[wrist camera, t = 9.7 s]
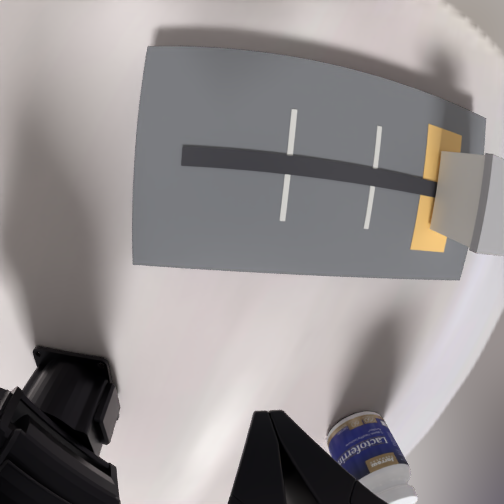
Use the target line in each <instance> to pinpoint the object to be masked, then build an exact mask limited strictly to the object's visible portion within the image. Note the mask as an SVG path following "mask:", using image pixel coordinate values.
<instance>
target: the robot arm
mask: <svg viewBox="0 0 504 504" xmlns="http://www.w3.org/2000/svg"><path fill="white" fill-rule="evenodd" d="M38 352H39V353H38ZM33 355H34V358H35V362H36V365H37V368H36V370H35V371H34V373H33V374H32V376H31V377H30V379H29V380H28V382H27V383H26V385H25V387H24V388H23V390H21V389H20V388H19V387H18V386H17V387H16V388H14V389H13V390H12V391H11V392H10V391H9V390H5V389H3V388H0V504H121V502H120V499H119V491H118V481H117V470H116V467H115V466H114V465H112V464H111V463H108V462H106V461H105V460H103V459H102V458H100V457H99V455H100V451H101V448H102V444H105V445H108V444H109V443H110V441H111V437H112V434H113V430H114V427H115V423H116V421H117V420H118V418H119V410H120V404H119V399H118V395H117V390H116V386H115V384H114V383H112V379H111V374H110V368H109V363H108V361H107V360H106V359H105V358H103V357H97V356H91V355H84V354H78V353H72V352H67V351H61V350H56V349H51V348H46V347H41V346H36V347H35V348H34V350H33ZM100 363H102V364H103V365H101V364H100ZM355 480H356V478H354V477H353V476H352V475H351V474H350V473H349V472H348V471H346V470H345V469H344V468H343V467H342V466H341V465H340V464H339V463H338V462H336V461H335V460H334V459H333V458H332V457H331V456H330V455H329V454H328V453H327V452H325V451H324V450H323V449H322V448H321V447H320V446H319V445H318V444H317V443H316V442H315V441H314V440H313V439H312V438H311V437H309V436H308V435H307V434H306V433H305V432H304V431H303V430H302V429H301V428H300V427H299V426H298V425H297V424H296V423H295V422H294V421H293V420H292V419H291V418H290V417H289V416H288V415H287V414H286V413H285V412H284V411H282V410H270V411H254V413H253V416H252V420H251V424H250V427H249V431H248V435H247V438H246V442H245V446H244V449H243V453H242V456H241V460H240V464H239V467H238V471H237V474H236V477H235V481H234V484H233V488H232V491H231V495H230V497H229V501H228V504H388V503H387V502H385V501H384V500H382V499H381V498H379V497H378V496H377V495H375V494H374V493H373V492H371V491H370V490H369V489H368V488H366V487H365V486H364V485H363V484H362V483H360V482H359V481H358V480H356V481H355Z"/></svg>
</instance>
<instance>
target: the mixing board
mask: <svg viewBox="0 0 504 504" xmlns="http://www.w3.org/2000/svg"><path fill="white" fill-rule="evenodd" d="M485 129H486V118H484V117H482V116H480V115H478V114H476V113H474V112H472V111H469V110H467V109H465V108H463V107H461V106H458V105H456V104H454V103H451V102H449V101H447V100H444V99H442V98H439V97H437V96H434V95H432V94H429V93H426V92H424V91H421V90H418V89H415V88H413V87H410V86H407V85H404V84H401V83H398V82H395V81H392V80H389V79H385V78H382V77H379V76H375V75H372V74H368V73H365V72H361V71H357V70H353V69H350V68H346V67H341V66H337V65H333V64H328V63H324V62H319V61H314V60H309V59H304V58H298V57H293V56H287V55H280V54H273V53H266V52H258V51H250V50H240V49H229V48H215V47H194V46H148V47H147V53H146V60H145V66H144V73H143V80H142V87H141V95H140V104H139V113H138V123H137V134H136V146H135V161H134V180H133V213H132V251H133V265H146V266H160V267H175V268H190V269H206V270H222V271H239V272H257V273H276V274H296V275H317V276H340V277H365V278H392V279H424V280H460V277H461V274H462V270H463V266H464V262H465V259H466V255H467V251H468V247H467V246H465V245H463V244H461V243H459V242H457V241H455V240H453V239H450V238H448V237H446V236H444V235H442V234H440V233H437V232H435V231H433V230H431V229H430V224H431V219H432V214H433V208H434V202H435V196H436V190H437V183H438V176H439V168H440V160H441V151H447V152H458V153H468V154H477V155H484V144H485Z"/></svg>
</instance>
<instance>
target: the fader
mask: <svg viewBox="0 0 504 504" xmlns="http://www.w3.org/2000/svg"><path fill="white" fill-rule="evenodd" d="M430 229H431V230H433V231H435V232H437V233H440V234H442V235H444V236H446V237H448V238H450V239H453V240H455V241H457V242H459V243H461V244H463V245H465V246H467V247H469V248H470V249H469V250H470V251H472V252H474V253H477V254H487V255H496V256H504V159H503V158H501V157H499V156H496V155H494V154H488V153H485V155H477V154H468V153H458V152H447V151H441V160H440V168H439V176H438V183H437V190H436V196H435V202H434V208H433V214H432V219H431V224H430Z"/></svg>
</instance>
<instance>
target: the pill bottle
mask: <svg viewBox="0 0 504 504" xmlns="http://www.w3.org/2000/svg"><path fill="white" fill-rule="evenodd" d="M327 445H328V448H329V451H330V454H331V456H332V458H333V459H334V460H335V461H336V462H338V463H339V464H340V465H341V466H342V467H343V468H344V469H345V470H346V471H348V472H349V473H350V474H351V475H352V476H353V477H354V478H356V480H358V481H359V482H360V483H362V484H363V485H364V486H365V487H366V488H368V489H369V490H370V491H371V492H373V493H374V494H375V495H377V496H378V497H379V498H381V499H382V500H384V501H385V502H387V503H388V504H415V503H416V501H417V500H418V496H417V494H416V492H415V489H414V487H413V486H410V485H408V484H407V483H408V481H409V479H410V476H411V470H410V467H409V465H408V463H407V461H406V459H405V458H404V456H403V454H402V452H401V450H400V448H399V447H398V445H397V443H396V441H395V439H394V437H393V436H392V434H391V432H390V430H389V428H388V426H387V425H386V423H385V421H384V419H383V418H382V417H381V416H380V415H379V414H377V413H375V412H370V411H366V412H359V413H356V414H353V415H350V416H348V417H346V418H344V419H343V420H341V421H340V422H338V423H337V424H336V425H335V426H334V427H333V428H332V429H331V430H330V432H329V434H328V436H327ZM356 480H355V481H356Z"/></svg>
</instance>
